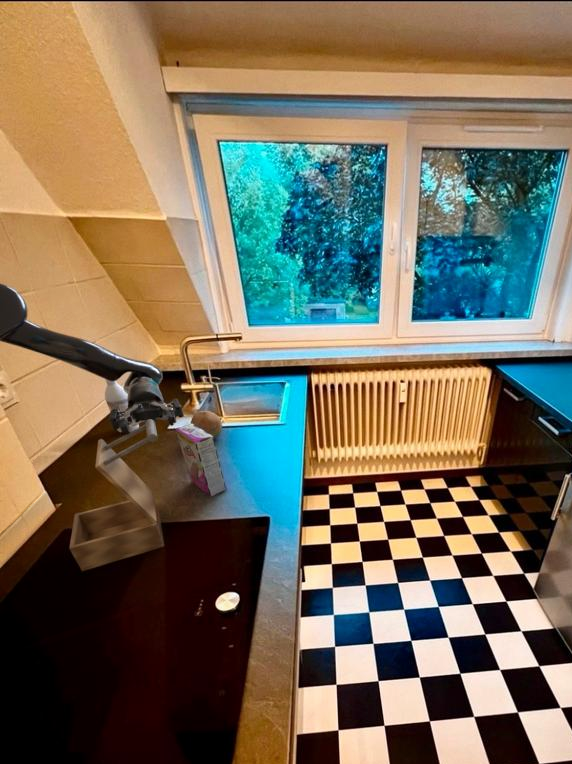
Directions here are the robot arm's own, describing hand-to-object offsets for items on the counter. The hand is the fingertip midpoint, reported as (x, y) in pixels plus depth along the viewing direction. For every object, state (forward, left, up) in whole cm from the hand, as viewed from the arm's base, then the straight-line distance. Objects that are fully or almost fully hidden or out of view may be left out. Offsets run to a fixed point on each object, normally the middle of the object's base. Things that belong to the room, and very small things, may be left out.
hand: (149, 425), depth 80 cm
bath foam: (+16, +62, -25) cm, 69 cm away
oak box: (-12, +2, -25) cm, 28 cm away
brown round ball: (+29, +32, -25) cm, 50 cm away
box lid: (-8, 0, -10) cm, 13 cm away
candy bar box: (+12, +7, -25) cm, 28 cm away
